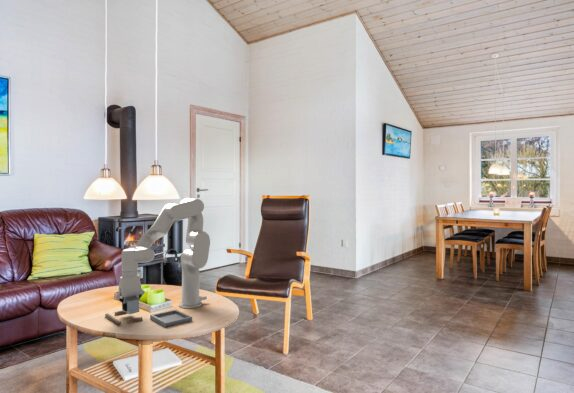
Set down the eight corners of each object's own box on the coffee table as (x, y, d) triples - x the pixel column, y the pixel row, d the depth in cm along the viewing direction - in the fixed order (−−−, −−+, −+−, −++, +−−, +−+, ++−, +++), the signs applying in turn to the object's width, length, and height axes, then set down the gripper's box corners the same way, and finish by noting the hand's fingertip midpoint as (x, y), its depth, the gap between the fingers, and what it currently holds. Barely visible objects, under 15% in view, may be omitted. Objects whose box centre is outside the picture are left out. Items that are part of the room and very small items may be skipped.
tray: (176, 313, 212) (176, 309, 212) (192, 321, 201) (192, 317, 200) (150, 318, 203) (150, 314, 203) (165, 327, 191) (165, 323, 191)
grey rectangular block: (131, 307, 210) (131, 294, 209) (139, 312, 203) (139, 298, 203) (122, 310, 206) (121, 296, 206) (129, 314, 200) (129, 300, 199)
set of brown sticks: (128, 312, 213) (128, 309, 213) (142, 320, 200) (142, 317, 200) (105, 316, 205) (105, 313, 205) (118, 325, 192) (118, 322, 192)
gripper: (143, 269, 213) (143, 304, 213) (109, 275, 201) (110, 311, 202) (149, 272, 207) (150, 307, 208) (115, 277, 195) (116, 315, 196)
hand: (130, 308), depth 205 cm, fingers closed on grey rectangular block, 5 cm apart
